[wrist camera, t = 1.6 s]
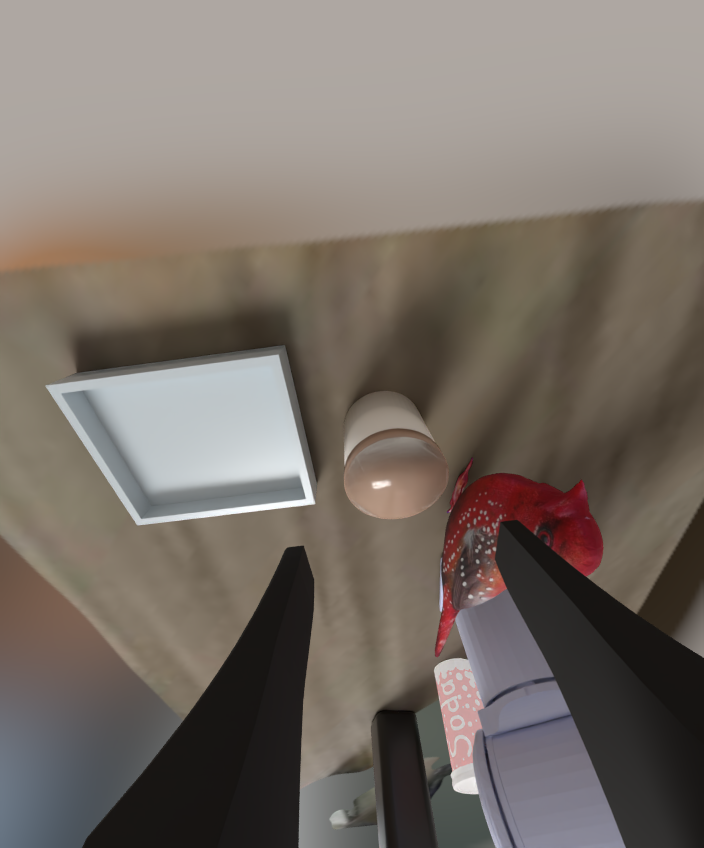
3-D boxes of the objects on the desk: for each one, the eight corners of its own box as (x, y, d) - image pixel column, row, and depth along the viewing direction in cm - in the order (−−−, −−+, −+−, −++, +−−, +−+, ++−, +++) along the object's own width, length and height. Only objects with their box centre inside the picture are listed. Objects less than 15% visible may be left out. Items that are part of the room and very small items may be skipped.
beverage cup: (467, 649, 33) (543, 875, 21) (486, 670, 36) (563, 882, 24) (419, 665, 35) (463, 886, 22) (440, 684, 37) (490, 892, 25)
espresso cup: (420, 385, 18) (450, 429, 13) (421, 454, 20) (447, 512, 16) (337, 395, 18) (337, 443, 13) (348, 463, 21) (351, 524, 16)
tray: (285, 344, 16) (278, 354, 15) (317, 484, 21) (315, 503, 19) (76, 373, 17) (45, 385, 15) (153, 504, 22) (137, 525, 20)
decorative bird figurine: (514, 404, 19) (668, 526, 10) (431, 579, 27) (476, 731, 18) (471, 397, 18) (592, 518, 10) (401, 576, 27) (431, 730, 18)
